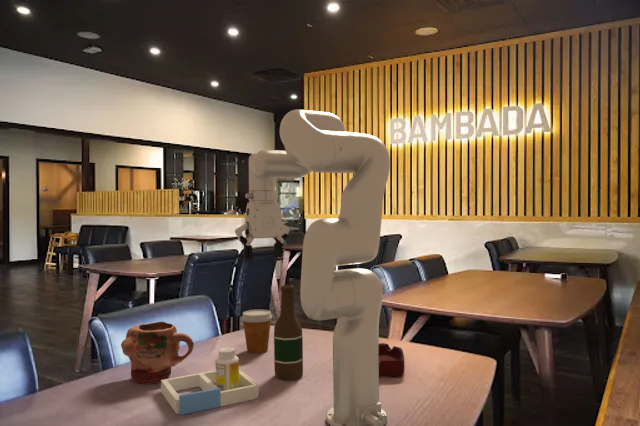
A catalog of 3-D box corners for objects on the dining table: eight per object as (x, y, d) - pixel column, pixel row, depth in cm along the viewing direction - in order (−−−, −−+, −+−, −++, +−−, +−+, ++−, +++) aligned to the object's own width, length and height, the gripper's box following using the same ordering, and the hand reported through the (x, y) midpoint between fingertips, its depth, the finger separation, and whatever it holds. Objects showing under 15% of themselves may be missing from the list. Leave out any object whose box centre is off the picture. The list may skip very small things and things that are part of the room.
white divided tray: (260, 397, 119) (259, 380, 118) (177, 415, 109) (177, 397, 109) (236, 378, 132) (235, 362, 132) (161, 392, 123) (160, 375, 123)
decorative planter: (202, 370, 139) (201, 320, 138) (187, 386, 127) (186, 331, 126) (131, 370, 140) (130, 320, 140) (110, 386, 128) (109, 331, 128)
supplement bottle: (240, 386, 126) (239, 346, 126) (238, 395, 120) (237, 352, 120) (217, 387, 125) (216, 346, 125) (214, 396, 120) (214, 353, 120)
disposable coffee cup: (238, 349, 159) (237, 311, 159) (267, 345, 163) (266, 308, 163) (247, 357, 151) (246, 317, 150) (277, 352, 155) (276, 313, 154)
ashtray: (378, 387, 125) (378, 367, 125) (335, 371, 138) (335, 353, 137) (424, 371, 136) (424, 353, 136) (380, 358, 149) (380, 341, 149)
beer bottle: (299, 382, 129) (298, 288, 128) (270, 380, 130) (268, 287, 130) (306, 372, 136) (305, 283, 136) (278, 370, 138) (277, 282, 138)
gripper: (241, 197, 134) (242, 261, 134) (295, 197, 144) (296, 257, 144) (228, 197, 140) (229, 259, 140) (281, 197, 150) (282, 255, 150)
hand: (263, 258), depth 142 cm, fingers open, 9 cm apart
